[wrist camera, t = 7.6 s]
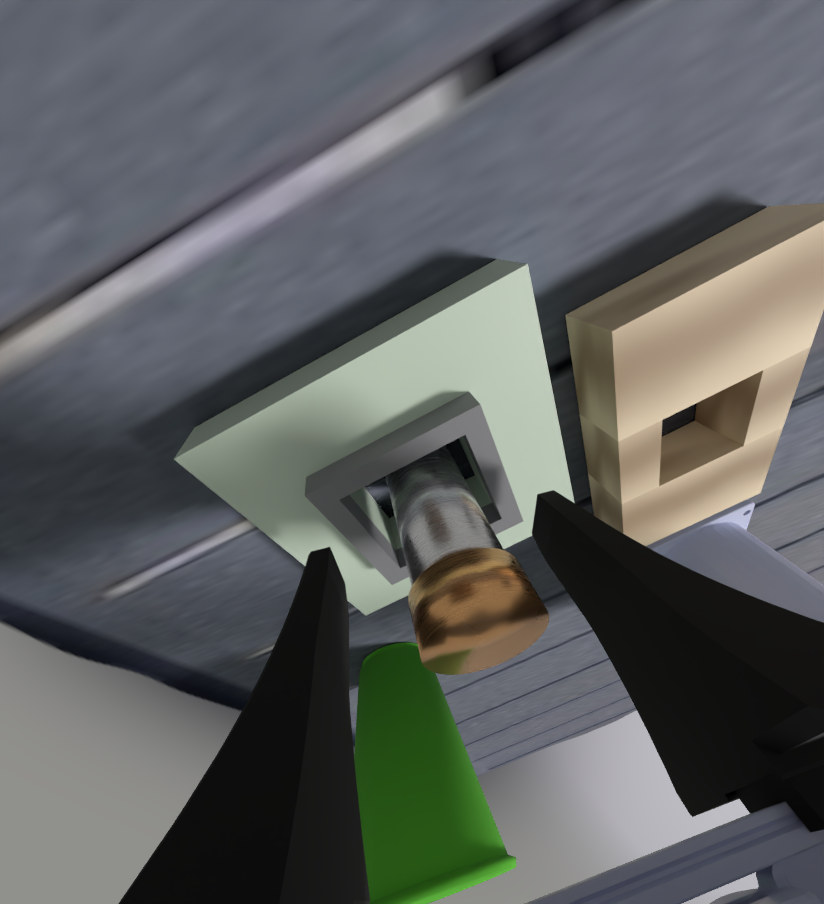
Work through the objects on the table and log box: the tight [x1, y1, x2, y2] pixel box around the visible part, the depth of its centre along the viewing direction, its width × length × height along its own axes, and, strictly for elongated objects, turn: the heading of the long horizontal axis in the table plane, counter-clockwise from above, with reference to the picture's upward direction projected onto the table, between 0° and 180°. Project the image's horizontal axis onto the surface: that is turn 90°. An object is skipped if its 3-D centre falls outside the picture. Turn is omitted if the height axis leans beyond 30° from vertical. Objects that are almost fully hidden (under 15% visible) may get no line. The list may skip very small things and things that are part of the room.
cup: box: [354, 643, 516, 904], centre depth 20 cm, size 9×9×11 cm
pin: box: [385, 445, 549, 675], centre depth 11 cm, size 3×3×8 cm
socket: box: [174, 259, 575, 615], centre depth 13 cm, size 12×12×3 cm
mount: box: [565, 203, 824, 546], centre depth 15 cm, size 14×8×2 cm, turn 25°
